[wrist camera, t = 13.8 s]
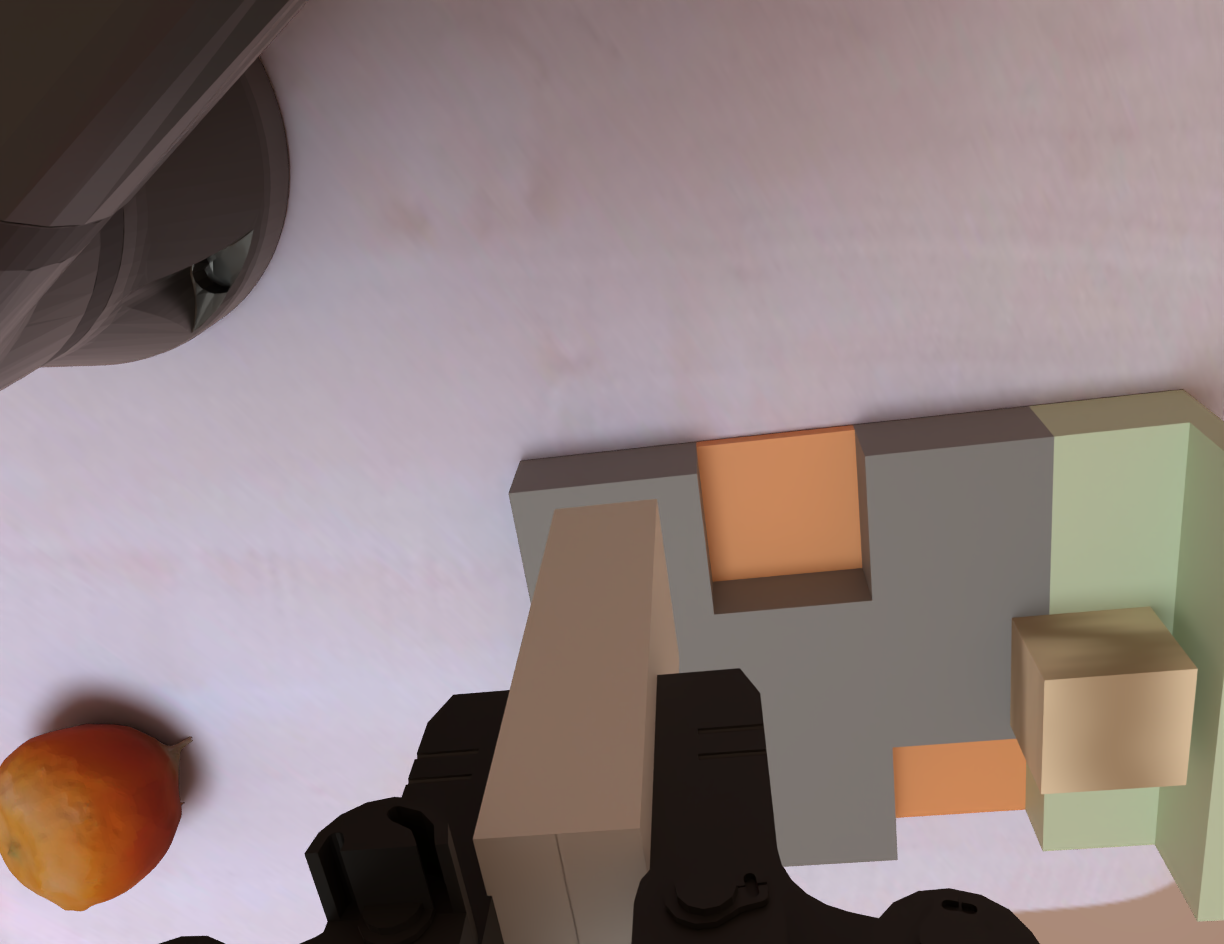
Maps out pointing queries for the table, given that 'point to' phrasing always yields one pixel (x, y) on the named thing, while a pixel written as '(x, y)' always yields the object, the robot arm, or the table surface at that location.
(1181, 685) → the block
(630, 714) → the robot arm
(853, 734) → the box
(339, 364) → the table surface
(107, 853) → the fruit
